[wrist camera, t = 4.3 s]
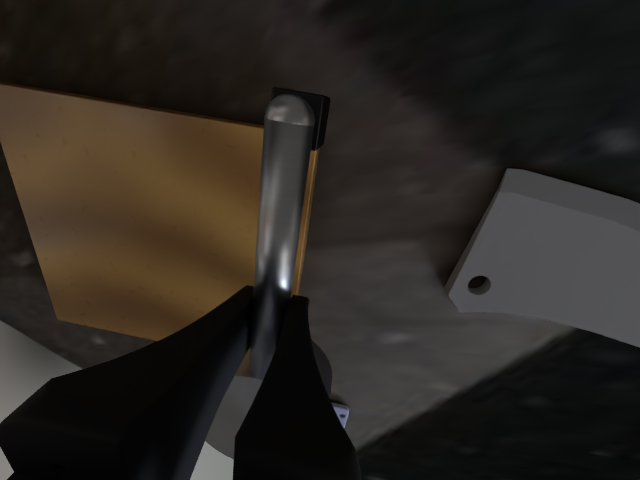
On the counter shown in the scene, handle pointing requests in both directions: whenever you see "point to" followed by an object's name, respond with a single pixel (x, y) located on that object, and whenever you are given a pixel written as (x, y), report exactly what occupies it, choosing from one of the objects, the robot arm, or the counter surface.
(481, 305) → the kitchen cleaver
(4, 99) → the chopping board
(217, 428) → the grey disc-end rod
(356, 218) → the counter surface
